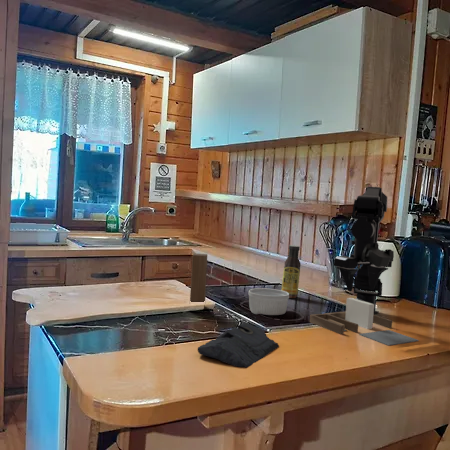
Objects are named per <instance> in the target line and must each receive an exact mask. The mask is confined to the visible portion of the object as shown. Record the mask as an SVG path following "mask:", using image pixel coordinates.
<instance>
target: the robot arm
mask: <svg viewBox="0 0 450 450" xmlns="http://www.w3.org/2000/svg"><path fill="white" fill-rule="evenodd" d="M387 212H388V196H387V195H386V194H385V193H384V192H383V188H382V187H378V186H367V187H365V192H364V193H363V194H362V195H357V197H356V199H354V202H353V208H352V213H351V219H356V221H355V222H354V223H353V225H352V226H351V233H352V236H353V238H354V240H351V245H354V246H353V247H354V248H353V250H354V251H353V254H352V253H351V254H350V256H345V255H343V256H341V255H340V256H338V255H337V256H336V257H334V259H333V267H334V266H335V267H336V269H338V270H339V272H340V274H341V276H342V279H343V281H344V283H345V286H346V288H347V291H348V292H353V294H356V298H355V299H358V300H361V301H365V302H368V303H371V304H374V314H379V313H380V312H379V311H378V310H376V308H377V307H376V306H377V297H382V295H383V283H382V280H381V278H380V277H381V275H382V274H383V273H384V272H386V271H389V268H392V264H393V262H394V257H395V256H394V255H395V254H394V253H395V251H394V250H392V249H389V248H388V249H380V248H379V243H378V237H379V228H380V227H379V226H380V223H382V221H383V219H384V218H385V213H387ZM358 266H360V267H359V268H358V269H357V267H358ZM355 274H356V275H355ZM352 290H353V291H352Z"/></svg>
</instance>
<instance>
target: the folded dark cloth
mask: <svg viewBox="0 0 450 450" xmlns="http://www.w3.org/2000/svg"><path fill="white" fill-rule="evenodd" d="M279 347H280V345H279V343H278V342H276V341H275V340H273V339H271V338H269V337H268V335H267V333H266V332H265V331H264V329H261V328H259V327H257V326H254V325H253V324H250V323H249V322H248V321H243V322H242V323H240V324H239V325H237V326H236V327H232V328H229V329H228V330H225V331H224V332H223V333H221V334H220V335H219V336H217V337H216V338H214V339H211V340H209V341H208V342H205V344H202V345H199V346H198V347H197V352H198V354H199V355H201V356H205V357H208V358H212V359H216V360H218V361H220V362H222V363H225V364H228V365H230V366H233V367H237V368H245V369H246V368H248V367H251V366H252V365H253V364H255V363H257V362H259V361H261V360H262V359H263V358H265V357H266V356H268V355H269V354H271V353H272V352H273V351H275V350H276V349H278V348H279Z"/></svg>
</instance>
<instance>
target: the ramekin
mask: <svg viewBox="0 0 450 450" xmlns="http://www.w3.org/2000/svg"><path fill="white" fill-rule="evenodd" d="M289 299H290V298H289V293H288V292H285V291H282V289H275V288H268V287H267V288H263V287H261V288H260V287H259V288H258V287H257V288H251V289H249V290H248V301H249V302H248V305H249V310H250V311H251V313H252V314H254V315H259V314H260V315H264V316H265V315H266V316H279V315H284V314H285V313H286V312H287V307H288V303H289Z"/></svg>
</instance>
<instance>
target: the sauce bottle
mask: <svg viewBox="0 0 450 450" xmlns="http://www.w3.org/2000/svg"><path fill="white" fill-rule="evenodd" d="M288 245H289V246H288V256H287V258H286V260H285V261H284V266H283V267H284V268H283V273H282V280H281V281H282V282H281V290H282V291H285V292H288V293H289V299H296V298H297V297H298V293H299V283H300V273H301V261H300V260H299V253H300V249H301V248H300V247H301V246H300V245H295V244H294V245H293V244H291V245H290V244H288Z"/></svg>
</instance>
